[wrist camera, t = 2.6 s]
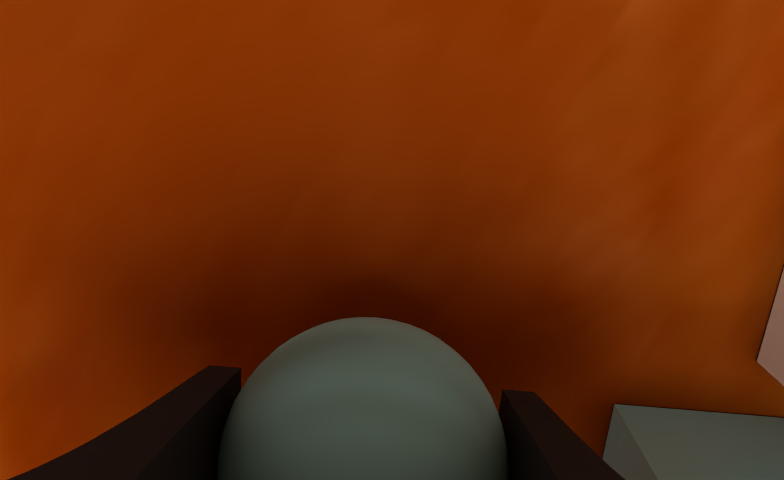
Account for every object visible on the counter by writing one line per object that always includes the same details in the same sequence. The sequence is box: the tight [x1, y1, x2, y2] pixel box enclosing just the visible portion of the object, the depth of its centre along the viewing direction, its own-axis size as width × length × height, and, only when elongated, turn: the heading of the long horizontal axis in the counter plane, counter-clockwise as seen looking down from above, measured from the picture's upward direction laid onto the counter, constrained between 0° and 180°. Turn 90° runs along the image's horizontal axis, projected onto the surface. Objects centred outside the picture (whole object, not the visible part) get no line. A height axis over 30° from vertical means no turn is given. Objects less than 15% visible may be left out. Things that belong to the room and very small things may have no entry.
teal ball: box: [217, 317, 509, 480], centre depth 11 cm, size 5×5×5 cm
